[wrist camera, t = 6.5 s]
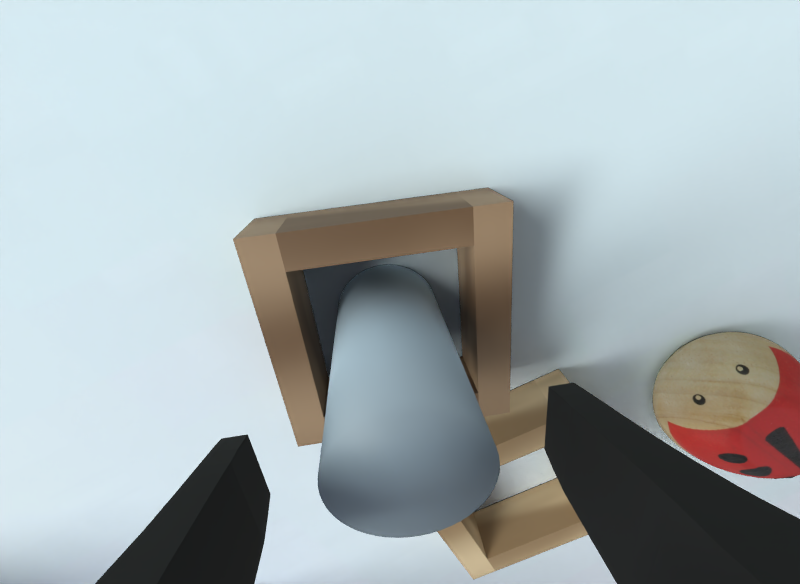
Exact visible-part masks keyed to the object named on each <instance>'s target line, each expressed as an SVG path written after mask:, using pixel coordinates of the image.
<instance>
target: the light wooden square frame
mask: <svg viewBox="0 0 800 584" xmlns="http://www.w3.org/2000/svg"><path fill="white" fill-rule="evenodd" d="M567 383H569V381H568V380H567V379H566V378H565V376H564V375H563V374H562V373H561V371H560V370H559V369H558V370H556V371H553V372H551V373H549V374H547V375H544V376H542V377H540V378H538V379H535V380H533V381H531V382H529V383H526V384H524V385H522V386H520V387H518V388H515V389H513V390H511V391H510V413H505V414H499V415H492V416H486V417H484V418H485V421H486V423H487V426H488V428H489V430H490V433H491V435H492V438H493V440H494V443H495V445H496V447H497V451H498V454H499V460H500V466H501V465H504V464H506V463H508V462H511V461H513V460H515V459H518V458H520V457H522V456H525V455H527V454H530V453H532V452H534V451H537V450H539V449H541V448H544V446H545V432H546V417H547V403H548V388H549V386H555V385H561V384H567ZM437 532H438V533H439V535H440V536H441V537H442V539H443V540H444V541H445V543H446V544H447V545H448V546H449V548H450V549H451V550H452V552H453V553H454V554H455V556H456V557H457V558H458V560H459V561H460V562H461V564H462V565H463V566H464V568H465V569H466V570H467V572H468V573H469V574H470V576H471V577H472V578H473V579H476V578H479V577H481V576H484V575H486V574H489V573H492V572H494V571H497V570H499V569H502V568H504V567H507V566H509V565H512V564H514V563H517V562H520V561H522V560H525V559H527V558H530V557H532V556H535V555H537V554H540V553H542V552H545V551H547V550H550V549H553V548H555V547H558V546H560V545H563V544H565V543H568V542H570V541H573V540H575V539H578V538H581V537H583V536H586V535H588V533H587V531H586V530H585V528H584V526H583V525H582V523H581V521H580V519H579V518H578V516H577V514H576V512H575V511H574V509H573V507H572V505H571V504H570V502H569V500H568V498H567V497H566V495H565V493H564V491H563V489H562V487H561V485H560V483H559V481H558V479H557V478H556V479H554V480H551V481H549V482H546V483H544V484H541V485H539V486H537V487H534V488H532V489H529V490H527V491H525V492H522V493H520V494H517V495H515V496H513V497H510V498H508V499H505V500H503V501H500V502H498V503H496V504H493V505H491V506H488V507H486V508H484V509H481V510H479V511H476V512H473V513H472V514H471V515H469V516H468V517H466V518H465V519H463V520H462V521H460V522H458V523H456V524H454V525H452V526H450V527H447V528H445V529H442V530H440V531H437Z"/></svg>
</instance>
